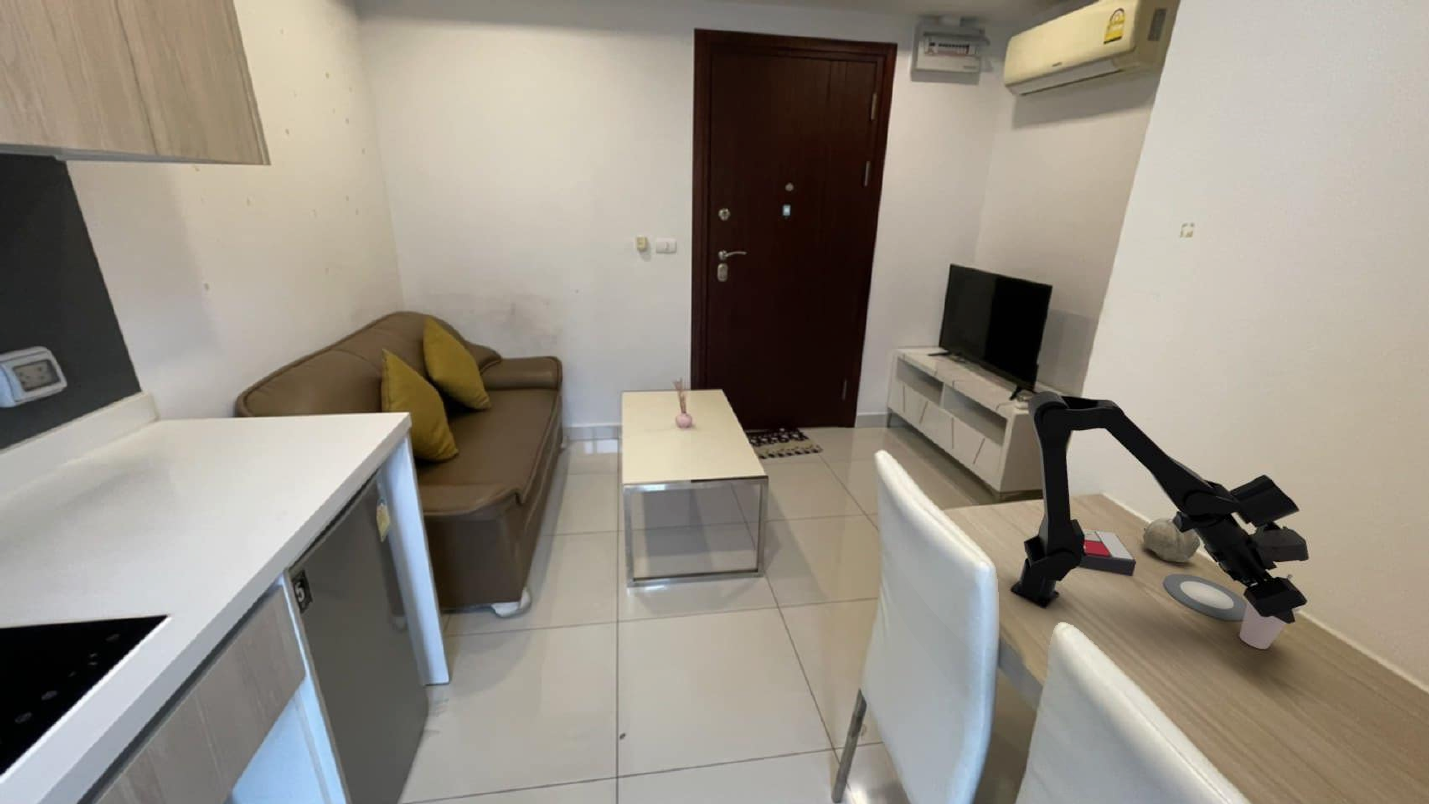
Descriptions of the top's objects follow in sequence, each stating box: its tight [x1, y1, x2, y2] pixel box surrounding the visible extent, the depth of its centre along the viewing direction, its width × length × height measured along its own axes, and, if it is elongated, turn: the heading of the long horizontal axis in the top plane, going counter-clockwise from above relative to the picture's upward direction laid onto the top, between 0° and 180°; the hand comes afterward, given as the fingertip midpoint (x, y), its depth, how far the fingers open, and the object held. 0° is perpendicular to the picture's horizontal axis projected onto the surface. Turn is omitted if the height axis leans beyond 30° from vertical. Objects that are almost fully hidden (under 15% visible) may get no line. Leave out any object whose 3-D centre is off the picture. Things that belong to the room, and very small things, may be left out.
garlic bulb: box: [1142, 517, 1201, 563], centre depth 120 cm, size 9×8×10 cm
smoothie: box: [1239, 573, 1302, 650], centre depth 95 cm, size 6×6×14 cm
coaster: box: [1162, 573, 1248, 622], centre depth 109 cm, size 13×13×1 cm
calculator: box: [1037, 524, 1137, 577], centre depth 121 cm, size 11×4×15 cm
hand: (1279, 609), depth 95 cm, fingers closed on smoothie, 6 cm apart
